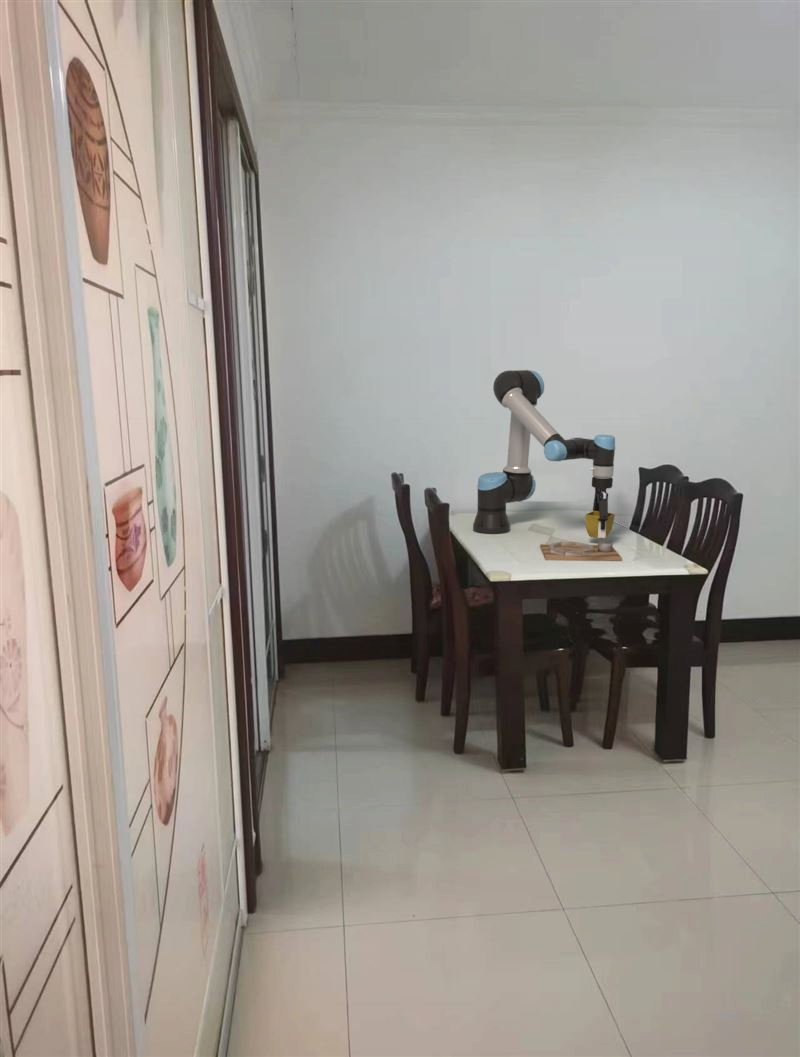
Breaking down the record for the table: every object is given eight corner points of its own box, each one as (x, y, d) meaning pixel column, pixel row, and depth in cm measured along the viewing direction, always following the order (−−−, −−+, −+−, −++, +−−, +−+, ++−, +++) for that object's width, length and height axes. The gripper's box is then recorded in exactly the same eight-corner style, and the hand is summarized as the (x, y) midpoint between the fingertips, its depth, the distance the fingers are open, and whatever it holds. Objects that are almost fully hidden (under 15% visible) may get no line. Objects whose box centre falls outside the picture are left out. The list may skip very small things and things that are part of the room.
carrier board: (540, 547, 296) (540, 536, 295) (611, 548, 294) (611, 537, 293) (545, 560, 277) (545, 548, 276) (621, 561, 275) (622, 549, 274)
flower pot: (613, 536, 302) (615, 513, 300) (605, 541, 295) (607, 517, 293) (591, 533, 307) (593, 510, 305) (583, 537, 300) (584, 514, 298)
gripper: (587, 472, 308) (584, 527, 313) (597, 481, 285) (593, 540, 290) (607, 472, 307) (603, 527, 312) (618, 482, 284) (614, 541, 289)
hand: (598, 534), depth 301 cm, fingers closed on flower pot, 11 cm apart
